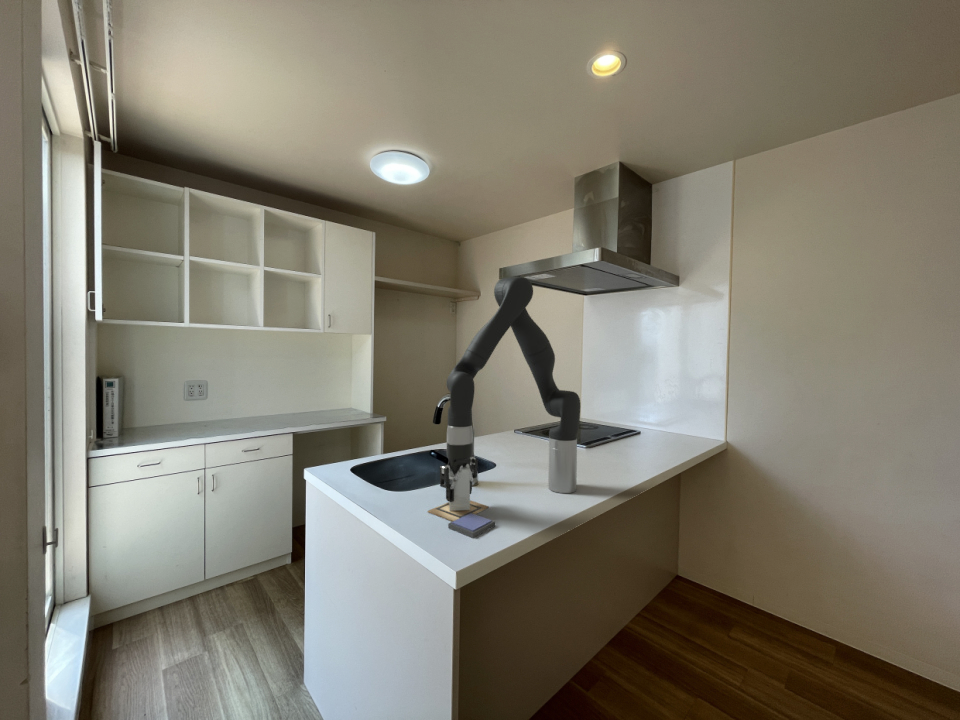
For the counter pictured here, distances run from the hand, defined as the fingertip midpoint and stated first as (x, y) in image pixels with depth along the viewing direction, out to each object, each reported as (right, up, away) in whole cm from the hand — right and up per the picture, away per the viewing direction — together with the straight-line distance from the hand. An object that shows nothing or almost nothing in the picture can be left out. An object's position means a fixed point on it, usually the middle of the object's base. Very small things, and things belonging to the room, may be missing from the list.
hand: (459, 497), depth 113 cm
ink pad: (+4, -4, -11) cm, 12 cm away
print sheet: (0, -4, 0) cm, 4 cm away
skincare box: (0, -3, 0) cm, 3 cm away
